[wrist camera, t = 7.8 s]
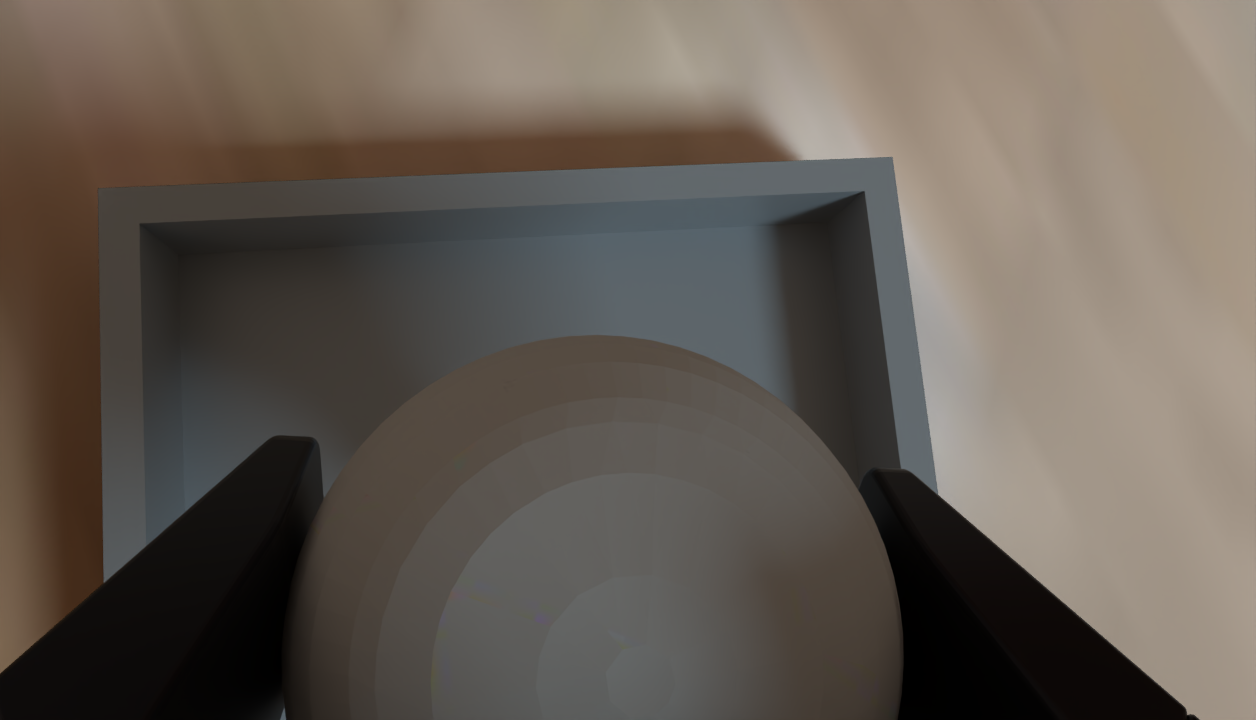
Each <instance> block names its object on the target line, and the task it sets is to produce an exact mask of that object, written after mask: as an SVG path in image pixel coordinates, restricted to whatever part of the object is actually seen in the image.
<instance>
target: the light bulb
mask: <svg viewBox="0 0 1256 720" xmlns="http://www.w3.org/2000/svg"><path fill="white" fill-rule="evenodd" d="M281 668H282V691H283V699H284V708H285V716H286V720H898V715H899V709H900V702H901V696H902V683H903V668H904V652H903V629H902V620H901V611H900V603H899V599H898V594H897V589H896V584H895V579H894V575H893V571H892V568H891V565H890V562H889V558H888V555H887V552H886V548H885V546H884V543H883V541H882V538H881V536H880V533H879V531H878V528H877V526H876V523H875V521H874V519H873V517H872V515H871V513H870V511H869V509H868V507H867V505H866V503H865V501H864V500H863V498H862V496H861V494H860V492H859V491H858V489H857V488H856V486H855V485H854V483H853V481H852V480H851V478H850V477H849V475H848V474H847V472H846V470H845V469H844V468H843V467H842V465H841V464H840V463H839V461H838V460H837V459H836V458H835V456H834V455H833V454H832V452H831V451H830V450H829V449H828V447H827V446H826V445H825V444H824V443H823V441H822V440H821V439H820V438H819V437H818V436H817V435H816V434H815V433H814V432H813V431H812V430H811V429H810V427H809V426H808V425H807V424H806V423H805V422H804V421H803V420H802V419H801V418H800V417H799V416H798V415H797V414H795V413H794V412H793V411H792V410H791V409H790V408H789V407H788V406H786V405H785V404H784V403H783V402H782V401H781V400H780V399H778V398H777V397H775V396H774V395H773V394H771V393H770V392H769V391H767V390H766V389H764V388H763V387H762V386H760V385H759V384H757V383H756V382H754V381H753V380H751V379H749V378H747V377H746V376H744V375H742V374H741V373H739V372H737V371H736V370H734V369H732V368H730V367H728V366H726V365H724V364H721V363H719V362H717V361H715V360H713V359H711V358H709V357H706V356H703V355H701V354H698V353H695V352H692V351H689V350H686V349H684V348H681V347H677V346H673V345H669V344H665V343H661V342H657V341H653V340H646V339H639V338H633V337H626V336H608V335H583V336H566V337H559V338H552V339H545V340H538V341H534V342H530V343H526V344H522V345H518V346H514V347H510V348H507V349H504V350H501V351H499V352H496V353H493V354H490V355H487V356H484V357H482V358H480V359H477V360H475V361H473V362H471V363H469V364H467V365H465V366H462V367H460V368H458V369H456V370H454V371H452V372H451V373H449V374H447V375H446V376H444V377H442V378H440V379H439V380H437V381H435V382H434V383H432V384H430V385H429V386H427V387H426V388H425V389H423V390H422V391H420V392H419V393H418V394H416V395H415V396H414V397H412V398H411V399H409V400H408V401H407V402H405V403H404V404H403V405H402V406H401V407H399V408H398V409H397V410H396V411H395V412H394V413H393V414H392V415H390V416H389V417H388V418H387V419H386V420H385V421H384V422H382V423H381V424H380V426H379V427H378V428H377V429H376V430H375V431H374V432H373V433H372V434H371V435H370V436H369V437H368V438H367V439H366V440H365V442H364V443H363V444H362V445H361V446H360V447H359V448H358V450H357V451H356V452H355V454H354V455H353V456H352V457H351V459H350V460H349V461H348V463H347V464H346V465H345V466H344V468H343V469H342V470H341V472H340V474H339V475H338V477H337V478H336V480H335V481H334V483H333V485H332V486H331V488H330V489H329V491H328V493H327V494H326V496H325V497H324V499H323V501H322V503H321V505H320V507H319V509H318V511H317V513H316V515H315V517H314V519H313V521H312V523H311V525H310V527H309V530H308V533H307V535H306V538H305V540H304V543H303V545H302V548H301V551H300V553H299V556H298V559H297V563H296V566H295V570H294V573H293V577H292V580H291V585H290V590H289V596H288V602H287V607H286V613H285V619H284V627H283V636H282V648H281Z"/></svg>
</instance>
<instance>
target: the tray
mask: <svg viewBox="0 0 1256 720" xmlns="http://www.w3.org/2000/svg"><path fill="white" fill-rule="evenodd" d="M98 235H99V302H100V369H101V436H102V503H103V569H104V582H106V581H107V580H108V579H109V578H110V577H111V576H112V575H114V574H115V573H116V572H117V571H118V570H119V569H120V568H122V567H123V566H124V565H125V564H126V563H127V562H128V561H130V560H131V559H132V558H133V557H134V556H135V555H136V554H138V553H139V552H140V551H141V550H142V549H143V548H144V547H146V546H147V545H148V544H149V543H150V542H151V541H152V540H154V539H155V538H156V537H157V536H158V535H159V534H160V533H162V532H163V531H164V530H165V529H166V528H167V527H168V526H170V525H171V524H172V523H173V522H174V521H175V520H176V519H178V518H179V517H180V516H181V515H182V514H183V513H184V512H186V511H187V510H188V509H189V508H190V507H191V506H192V505H194V504H195V503H196V502H197V501H198V500H199V499H200V498H202V497H203V496H204V495H205V494H206V493H207V492H208V491H210V490H211V489H212V488H213V487H214V486H215V485H216V484H218V483H219V482H220V481H221V480H222V479H223V478H224V477H226V476H227V475H228V474H229V473H230V472H231V471H232V470H234V469H235V468H236V467H237V466H238V465H239V464H240V463H242V462H243V461H244V460H245V459H246V458H247V457H248V456H250V455H251V454H252V453H253V452H254V451H255V450H256V449H258V448H259V447H260V446H261V445H262V444H263V443H264V442H266V441H267V440H268V439H269V438H271V437H273V436H277V435H287V436H306V437H313V438H314V439H316V440H317V441H318V443H319V446H320V455H321V468H322V482H323V495H324V497H325V496H326V494H327V493H328V491H329V489H330V488H331V486H332V485H333V483H334V481H335V480H336V478H337V477H338V475H339V474H340V472H341V470H342V469H343V468H344V466H345V465H346V464H347V463H348V461H349V460H350V459H351V457H352V456H353V455H354V454H355V452H356V451H357V450H358V448H359V447H360V446H361V445H362V444H363V443H364V442H365V440H366V439H367V438H368V437H369V436H370V435H371V434H372V433H373V432H374V431H375V430H376V429H377V428H378V427H379V426H380V424H381V423H382V422H384V421H385V420H386V419H387V418H388V417H389V416H390V415H392V414H393V413H394V412H395V411H396V410H397V409H398V408H399V407H401V406H402V405H403V404H404V403H405V402H407V401H408V400H409V399H411V398H412V397H414V396H415V395H416V394H418V393H419V392H420V391H422V390H423V389H425V388H426V387H427V386H429V385H430V384H432V383H434V382H435V381H437V380H439V379H440V378H442V377H444V376H446V375H447V374H449V373H451V372H452V371H454V370H456V369H458V368H460V367H462V366H465V365H467V364H469V363H471V362H473V361H475V360H477V359H480V358H482V357H484V356H487V355H490V354H493V353H496V352H499V351H501V350H504V349H507V348H510V347H514V346H518V345H522V344H526V343H530V342H534V341H538V340H545V339H552V338H559V337H566V336H583V335H608V336H626V337H633V338H639V339H646V340H653V341H657V342H661V343H665V344H669V345H673V346H677V347H681V348H684V349H686V350H689V351H692V352H695V353H698V354H701V355H703V356H706V357H709V358H711V359H713V360H715V361H717V362H719V363H721V364H724V365H726V366H728V367H730V368H732V369H734V370H736V371H737V372H739V373H741V374H742V375H744V376H746V377H747V378H749V379H751V380H753V381H754V382H756V383H757V384H759V385H760V386H762V387H763V388H764V389H766V390H767V391H769V392H770V393H771V394H773V395H774V396H775V397H777V398H778V399H780V400H781V401H782V402H783V403H784V404H785V405H786V406H788V407H789V408H790V409H791V410H792V411H793V412H794V413H795V414H797V415H798V416H799V417H800V418H801V419H802V420H803V421H804V422H805V423H806V424H807V425H808V426H809V427H810V429H811V430H812V431H813V432H814V433H815V434H816V435H817V436H818V437H819V438H820V439H821V440H822V441H823V443H824V444H825V445H826V446H827V447H828V449H829V450H830V451H831V452H832V454H833V455H834V456H835V458H836V459H837V460H838V461H839V463H840V464H841V465H842V467H843V468H844V469H845V470H846V472H847V474H848V475H849V477H850V478H851V480H852V481H853V483H854V485H855V486H856V488H857V489H859V486H860V483H861V480H862V478H863V476H864V474H865V473H866V472H867V470H869V469H871V468H874V467H881V468H900V469H906V470H908V471H910V472H912V473H913V474H914V475H916V476H917V477H918V478H919V479H920V480H921V481H923V482H924V483H925V484H926V485H927V486H928V487H930V488H931V489H932V490H933V491H934V492H935V493H937V494H938V490H937V482H936V475H935V468H934V460H933V453H932V446H931V438H930V431H929V423H928V416H927V409H926V401H925V394H924V386H923V379H922V372H921V364H920V357H919V350H918V342H917V335H916V327H915V320H914V313H913V305H912V298H911V290H910V283H909V276H908V268H907V261H906V254H905V246H904V239H903V231H902V224H901V217H900V209H899V202H898V194H897V187H896V180H895V172H894V165H893V158H892V157H880V158H854V159H829V160H804V161H778V162H753V163H727V164H702V165H676V166H651V167H625V168H600V169H574V170H549V171H523V172H498V173H473V174H447V175H422V176H396V177H371V178H345V179H320V180H294V181H269V182H243V183H218V184H192V185H167V186H142V187H116V188H98ZM280 720H286V716H285V708H284V710H283V713H282V716H281V719H280Z"/></svg>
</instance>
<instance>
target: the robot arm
mask: <svg viewBox="0 0 1256 720" xmlns="http://www.w3.org/2000/svg"><path fill="white" fill-rule="evenodd" d="M858 491H859V492H860V494H861V496H862V498H863V500H864V501H865V503H866V505H867V507H868V509H869V511H870V513H871V515H872V517H873V519H874V521H875V523H876V526H877V528H878V531H879V533H880V536H881V538H882V541H883V543H884V546H885V548H886V552H887V555H888V558H889V562H890V565H891V568H892V571H893V575H894V579H895V584H896V589H897V594H898V599H899V603H900V611H901V620H902V629H903V652H904V668H903V683H902V696H901V702H900V709H899V715H898V720H1200V719H1198V718H1197V717H1196V716H1195V715H1192V714H1190V715H1187V711H1186V708H1185V707H1184V706H1183V705H1182V704H1181V703H1179V702H1178V701H1177V700H1176V699H1175V698H1174V697H1172V696H1171V695H1170V694H1169V693H1168V692H1167V691H1165V690H1164V689H1163V688H1162V687H1161V686H1160V685H1158V684H1157V683H1156V682H1155V681H1154V680H1153V679H1151V678H1150V677H1149V676H1148V675H1147V674H1146V673H1145V672H1143V671H1142V670H1141V669H1140V668H1139V667H1138V666H1136V665H1135V664H1134V663H1133V662H1132V661H1131V660H1129V659H1128V658H1127V657H1126V656H1125V655H1124V654H1122V653H1121V652H1120V651H1119V650H1118V649H1117V648H1115V647H1114V646H1113V645H1112V644H1111V643H1110V642H1108V641H1107V640H1106V639H1105V638H1104V637H1103V636H1102V635H1100V634H1099V633H1098V632H1097V631H1096V630H1095V629H1093V628H1092V627H1091V626H1090V625H1089V624H1088V623H1086V622H1085V621H1084V620H1083V619H1082V618H1081V617H1079V616H1078V615H1077V614H1076V613H1075V612H1074V611H1072V610H1071V609H1070V608H1069V607H1068V606H1067V605H1066V604H1064V603H1063V602H1062V601H1061V600H1060V599H1059V598H1057V597H1056V596H1055V595H1054V594H1053V593H1052V592H1050V591H1049V590H1048V589H1047V588H1046V587H1045V586H1043V585H1042V584H1041V583H1040V582H1039V581H1038V580H1036V579H1035V578H1034V577H1033V576H1032V575H1031V574H1029V573H1028V572H1027V571H1026V570H1025V569H1024V568H1023V567H1021V566H1020V565H1019V564H1018V563H1017V562H1016V561H1014V560H1013V559H1012V558H1011V557H1010V556H1009V555H1007V554H1006V553H1005V552H1004V551H1003V550H1002V549H1000V548H999V547H998V546H997V545H996V544H995V543H993V542H992V541H991V540H990V539H989V538H988V537H986V536H985V535H984V534H983V533H982V532H981V531H980V530H978V529H977V528H976V527H975V526H974V525H973V524H971V523H970V522H969V521H968V520H967V519H966V518H964V517H963V516H962V515H961V514H960V513H959V512H957V511H956V510H955V509H954V508H953V507H952V506H950V505H949V504H948V503H947V502H946V501H945V500H944V499H942V498H941V497H940V496H939V495H938V494H937V493H935V492H934V491H933V490H932V489H931V488H930V487H928V486H927V485H926V484H925V483H924V482H923V481H921V480H920V479H919V478H918V477H917V476H916V475H914V474H913V473H912V472H910V471H908V470H906V469H900V468H881V467H874V468H871V469H869V470H867V472H866V473H865V474H864V476H863V478H862V480H861V483H860V486H859V489H858ZM323 499H324V495H323V482H322V468H321V455H320V446H319V443H318V441H317V440H316V439H314V438H313V437H306V436H287V435H277V436H273V437H271V438H269V439H268V440H267V441H266V442H264V443H263V444H262V445H261V446H260V447H259V448H258V449H256V450H255V451H254V452H253V453H252V454H251V455H250V456H248V457H247V458H246V459H245V460H244V461H243V462H242V463H240V464H239V465H238V466H237V467H236V468H235V469H234V470H232V471H231V472H230V473H229V474H228V475H227V476H226V477H224V478H223V479H222V480H221V481H220V482H219V483H218V484H216V485H215V486H214V487H213V488H212V489H211V490H210V491H208V492H207V493H206V494H205V495H204V496H203V497H202V498H200V499H199V500H198V501H197V502H196V503H195V504H194V505H192V506H191V507H190V508H189V509H188V510H187V511H186V512H184V513H183V514H182V515H181V516H180V517H179V518H178V519H176V520H175V521H174V522H173V523H172V524H171V525H170V526H168V527H167V528H166V529H165V530H164V531H163V532H162V533H160V534H159V535H158V536H157V537H156V538H155V539H154V540H152V541H151V542H150V543H149V544H148V545H147V546H146V547H144V548H143V549H142V550H141V551H140V552H139V553H138V554H136V555H135V556H134V557H133V558H132V559H131V560H130V561H128V562H127V563H126V564H125V565H124V566H123V567H122V568H120V569H119V570H118V571H117V572H116V573H115V574H114V575H112V576H111V577H110V578H109V579H108V580H107V581H106V582H104V583H103V584H102V585H101V586H100V587H99V588H98V589H96V590H95V591H94V592H93V593H92V594H91V595H90V596H88V597H87V598H86V599H85V600H84V601H83V602H82V603H80V604H79V605H78V606H77V607H76V608H75V609H74V610H72V611H71V612H70V613H69V614H68V615H67V616H66V617H64V618H63V619H62V620H61V621H60V622H59V623H58V624H56V625H55V626H54V627H53V628H52V629H51V630H50V631H48V632H47V633H46V634H45V635H44V636H43V637H42V638H40V639H39V640H38V641H37V642H36V643H35V644H34V645H32V646H31V647H30V648H29V649H28V650H27V651H25V652H24V653H23V654H22V655H21V656H20V657H19V658H17V659H16V660H15V661H14V662H13V663H12V664H11V665H9V666H8V667H7V668H6V669H5V670H4V671H3V672H1V673H0V720H280V719H281V716H282V713H283V710H284V699H283V691H282V668H281V648H282V636H283V627H284V619H285V613H286V607H287V602H288V596H289V590H290V585H291V580H292V577H293V573H294V570H295V566H296V563H297V559H298V556H299V553H300V551H301V548H302V545H303V543H304V540H305V538H306V535H307V533H308V530H309V527H310V525H311V523H312V521H313V519H314V517H315V515H316V513H317V511H318V509H319V507H320V505H321V503H322V501H323Z"/></svg>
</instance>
